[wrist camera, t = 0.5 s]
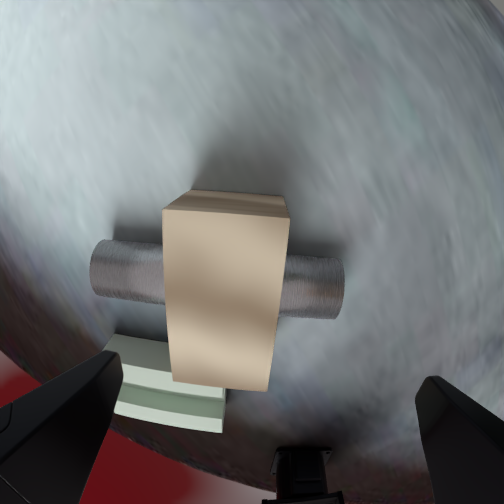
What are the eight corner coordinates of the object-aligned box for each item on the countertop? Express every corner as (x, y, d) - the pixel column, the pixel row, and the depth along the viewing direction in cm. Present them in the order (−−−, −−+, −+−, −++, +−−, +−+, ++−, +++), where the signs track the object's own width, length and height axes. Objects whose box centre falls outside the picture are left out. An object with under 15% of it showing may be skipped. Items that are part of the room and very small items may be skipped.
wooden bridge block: (266, 338, 23) (266, 391, 18) (190, 331, 23) (172, 381, 18) (282, 196, 19) (290, 218, 14) (190, 189, 19) (162, 209, 14)
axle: (333, 250, 21) (348, 271, 17) (324, 302, 22) (335, 330, 18) (113, 233, 21) (86, 249, 17) (117, 282, 22) (93, 305, 18)
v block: (225, 404, 26) (221, 432, 23) (126, 388, 26) (115, 413, 23) (227, 349, 24) (222, 379, 20) (114, 333, 24) (97, 357, 21)
